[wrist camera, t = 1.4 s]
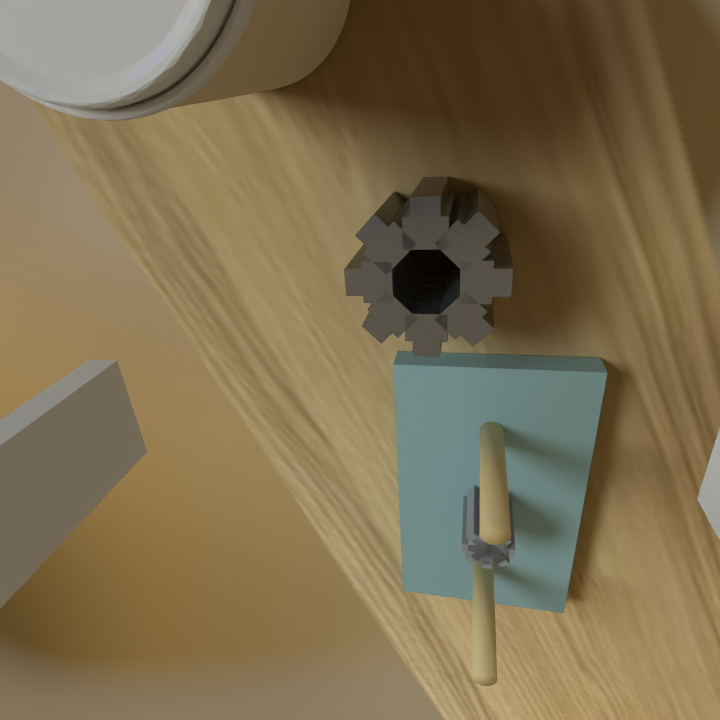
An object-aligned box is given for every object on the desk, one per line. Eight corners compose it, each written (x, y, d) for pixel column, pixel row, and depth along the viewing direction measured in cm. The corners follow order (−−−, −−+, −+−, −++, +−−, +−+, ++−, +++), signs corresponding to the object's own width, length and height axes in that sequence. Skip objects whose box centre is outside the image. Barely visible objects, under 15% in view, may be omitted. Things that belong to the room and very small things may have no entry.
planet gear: (365, 180, 23) (338, 199, 18) (510, 173, 21) (519, 193, 17) (373, 310, 26) (351, 354, 21) (501, 312, 24) (506, 359, 20)
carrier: (397, 351, 26) (365, 449, 19) (600, 357, 24) (653, 471, 17) (405, 572, 34) (385, 702, 27) (560, 592, 32) (584, 739, 25)
